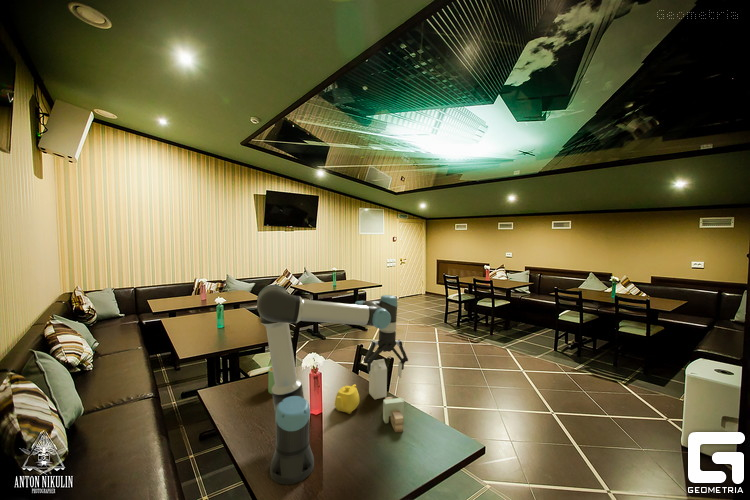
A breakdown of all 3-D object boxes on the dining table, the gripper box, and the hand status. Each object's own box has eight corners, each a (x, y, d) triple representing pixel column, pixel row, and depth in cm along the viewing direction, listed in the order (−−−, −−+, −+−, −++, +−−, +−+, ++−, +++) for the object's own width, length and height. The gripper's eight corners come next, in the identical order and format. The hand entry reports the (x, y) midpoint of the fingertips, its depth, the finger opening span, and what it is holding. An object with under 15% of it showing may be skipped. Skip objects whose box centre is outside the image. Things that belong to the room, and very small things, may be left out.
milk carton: (368, 393, 162) (369, 358, 161) (380, 390, 165) (381, 356, 164) (374, 399, 156) (375, 363, 155) (386, 397, 159) (387, 361, 158)
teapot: (347, 422, 136) (347, 398, 136) (326, 416, 141) (327, 393, 140) (364, 402, 153) (365, 382, 152) (345, 397, 157) (346, 377, 157)
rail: (403, 431, 130) (403, 418, 130) (395, 432, 129) (395, 418, 129) (391, 408, 148) (391, 396, 147) (384, 409, 147) (385, 397, 147)
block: (403, 421, 138) (404, 401, 137) (384, 423, 136) (385, 403, 135) (401, 416, 141) (401, 397, 141) (382, 418, 139) (383, 399, 139)
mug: (292, 388, 166) (292, 366, 166) (276, 396, 157) (277, 373, 157) (276, 382, 173) (277, 361, 172) (261, 389, 164) (261, 367, 164)
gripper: (410, 327, 141) (408, 372, 141) (358, 328, 135) (356, 375, 135) (416, 332, 133) (414, 379, 134) (361, 333, 128) (359, 382, 128)
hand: (385, 377), depth 135 cm, fingers open, 13 cm apart
